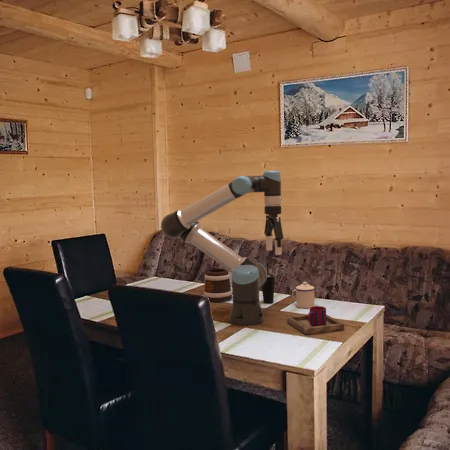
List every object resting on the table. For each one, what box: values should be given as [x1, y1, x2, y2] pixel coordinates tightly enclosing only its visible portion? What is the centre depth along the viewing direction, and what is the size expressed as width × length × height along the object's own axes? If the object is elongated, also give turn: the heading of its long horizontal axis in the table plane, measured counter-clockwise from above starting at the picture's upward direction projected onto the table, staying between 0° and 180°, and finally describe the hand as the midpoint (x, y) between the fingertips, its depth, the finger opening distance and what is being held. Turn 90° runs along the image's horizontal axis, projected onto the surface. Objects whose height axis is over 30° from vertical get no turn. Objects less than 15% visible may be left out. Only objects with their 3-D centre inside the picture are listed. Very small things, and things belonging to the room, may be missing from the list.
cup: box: [307, 305, 327, 326], centre depth 205 cm, size 7×10×7 cm
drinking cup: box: [261, 262, 276, 305], centre depth 247 cm, size 8×8×20 cm
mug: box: [203, 268, 233, 303], centre depth 259 cm, size 20×15×15 cm
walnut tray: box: [286, 314, 345, 336], centre depth 207 cm, size 17×18×2 cm
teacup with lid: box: [291, 281, 316, 309], centre depth 239 cm, size 12×9×12 cm
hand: (273, 252), depth 225 cm, fingers open, 13 cm apart
